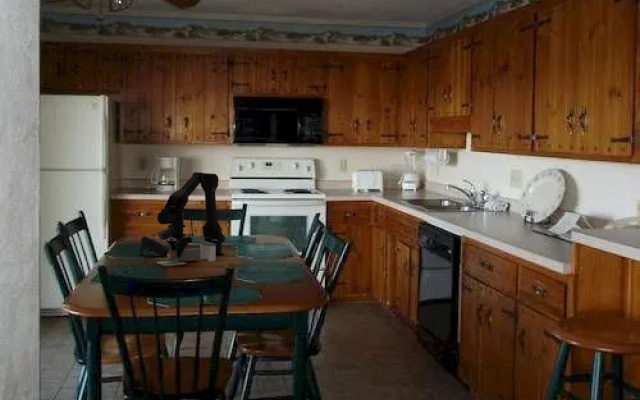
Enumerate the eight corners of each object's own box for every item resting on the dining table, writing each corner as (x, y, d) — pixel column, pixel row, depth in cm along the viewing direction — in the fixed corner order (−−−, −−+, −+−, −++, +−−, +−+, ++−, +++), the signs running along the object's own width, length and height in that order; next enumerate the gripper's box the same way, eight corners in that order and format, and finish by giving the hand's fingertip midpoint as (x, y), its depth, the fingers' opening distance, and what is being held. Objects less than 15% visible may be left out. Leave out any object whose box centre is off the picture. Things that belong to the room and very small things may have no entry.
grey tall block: (196, 256, 324) (196, 248, 324) (200, 258, 321) (200, 249, 321) (166, 259, 315) (166, 250, 314) (170, 260, 312) (170, 251, 311)
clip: (205, 258, 331) (206, 241, 330) (215, 261, 324) (215, 243, 323) (200, 258, 329) (200, 241, 328) (209, 261, 322) (209, 244, 321)
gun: (162, 269, 330) (172, 251, 328) (134, 251, 332) (143, 233, 330) (165, 268, 332) (174, 250, 331) (137, 250, 335) (146, 232, 333)
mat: (176, 260, 321) (176, 260, 321) (186, 264, 314) (186, 263, 314) (156, 262, 315) (156, 261, 315) (165, 266, 308) (165, 265, 308)
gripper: (151, 221, 317) (150, 255, 318) (170, 225, 302) (169, 261, 303) (173, 220, 324) (173, 253, 325) (193, 224, 309) (192, 259, 310)
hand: (176, 257), depth 316 cm, fingers closed on grey tall block, 4 cm apart
